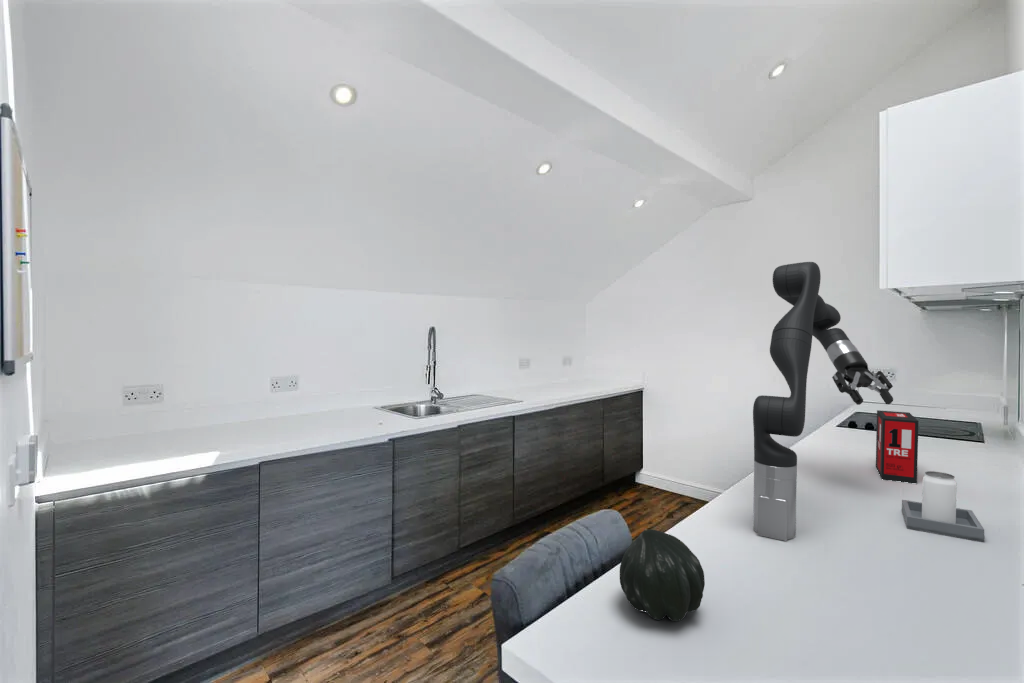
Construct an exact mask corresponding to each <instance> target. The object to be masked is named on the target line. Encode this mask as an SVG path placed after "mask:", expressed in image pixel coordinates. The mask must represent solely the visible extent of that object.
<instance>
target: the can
mask: <svg viewBox="0 0 1024 683" xmlns="http://www.w3.org/2000/svg"><path fill="white" fill-rule="evenodd" d="M924 473H925V474H924V475H923V477H922V490H921V491H922V492H921V496H922V498H921V503H922V518H926V519H932V520H938V521H944V522H950V523H956V508H957V492H958V490H957V488H958V487H957V485H958V484H957V481H956V479H955V475H952V474H950V473H946V472H941V471H934V470H933V471H931V470H929V471H928V470H927V471H924Z"/></svg>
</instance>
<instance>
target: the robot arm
mask: <svg viewBox="0 0 1024 683" xmlns="http://www.w3.org/2000/svg"><path fill="white" fill-rule="evenodd" d="M821 278H822V277H821V269H820V266H819V265H818V264H817V262H814V261H804V262H796V263H788V264H782V265H779V266H777V267H776V268H775V269H774V271H773V273H772V286H773V289H774V291H775V294H777V296H778V297H780V298H781V299H782V300H784V301H785V302H787V303H789V305H792V307H791V309H789V310H788V311H787V313H784V316H783V317H781V318H780V320H778V322H777V323H776V324H775V326H774V328H773V329H772V332H771V339H770V344H769V355H770V357H771V359H772V361H773V363H774V365H775V366H776V368H777V369H778V370H779V372H780V373H781V374H782V376H783V378H784V380H785V381H786V384H787V386H788V387H789V388H788V389H789V390H790V396H789V397H788V396H778V395H776V396H775V395H758V396H757V397H756V398H755V399H754V402H753V407H752V420H753V421H752V424H753V515H752V517H753V518H752V519H753V520H752V521H753V522H752V524H753V526H752V527H753V530H754V531H755V532H756V533H757V536H761V537H765V538H771V539H775V540H779V541H785V542H787V541H788V540H791V539H794V538H795V537H796V536H797V483H798V481H797V476H798V475H797V474H798V456H797V453H796V452H795V451H794V450H793V449H791V448H789V447H787V446H785V445H782V444H780V443H779V442H778V441H776V440H775V439H773V438H772V436H771V435H773V436H786V437H795V438H796V437H799V436H801V435H802V433H803V431H804V427H805V422H806V407H807V406H806V405H807V383H808V382H807V381H808V372H809V364H810V358H811V351H812V343H813V342H812V341H813V337H814V338H815V339H816V340H818V342H819V343H820V344H821V346H822V347H823V349H824V350H825V352H826V355H827V356H828V357H829V358H828V359H830V362H831V363H832V365H833V367H834V368H835V369H836V371H835V373H834V374H833V375H832V377H831V378H832V380H833V382H834V384H835V385H836V387H837V389H838V391H839V393H842V394H843V393H846V394H847V395H849V397H850V398H851V400H852V402H853V403H854V404H856V405H857V406H858V405H859V406H860V405H861V404H862V403H864V398H863V397H862V395H861V394H860V392H859V391H858V389H859V388H868V389H869V390H871V391H874V392H877V393H878V394H879V396H880V397H881V399H882V400H883V402H884V404H885V405H891V404H892V403H893V402H894V397H893V395H892V394H891V393H890V391H891V389H892V388H893V387H894V386H893V384H892V383H891V382H890V381H889V379H888V378H887V376H886V375H885V374H884V373H883V372H882V371H881V370H878V371H877V372H872V371H871V370H869V367H868V366H869V365H868V363H867V361H866V360H865V359H864V357H863V355H862V354H861V353H860V351H859V350H858V348H857V347H856V345H855V344H853V342H852V341H851V340H850V338H849V337H848V335H847V333H846V332H845V331H844V330H843V329H841V328H840V327H835V326H837V325H838V324H839V323H840V322H841V314H840V312H839V310H838V309H837V308H836V307H834V306H833V305H831V304H829V303H826V302H825V300H824V299H823V297H822V296H821V295H819V291H820V286H821ZM847 382H848V383H847ZM872 383H874V384H873V385H872Z"/></svg>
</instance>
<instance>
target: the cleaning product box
mask: <svg viewBox="0 0 1024 683" xmlns="http://www.w3.org/2000/svg"><path fill="white" fill-rule="evenodd" d="M875 434H876V435H875V436H876V439H875V440H876V441H875V442H876V443H875V468H876V470H878V471H877V472H879V473H878V475H879V474H880V475H879V476H880V479H881V480H882V479H883V480H882V481H888V480H892V481H891V482H896V481H901V482H900V483H904V482H908V483H907V484H912V483H917V484H918V453H919V452H918V451H919V449H918V447H919V420H918V419H917V418H916V417H915V416H913V414H912V413H911V412H907V411H906V412H905V411H894V410H891V411H890V410H878V409H877V410H876V433H875Z"/></svg>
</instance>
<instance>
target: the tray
mask: <svg viewBox="0 0 1024 683" xmlns="http://www.w3.org/2000/svg"><path fill="white" fill-rule="evenodd" d="M901 513H902V517H903V520H904V523H905V526H906V529H907V530H913V531H919V532H924V533H929V534H930V533H931V534H936V535H941V536H946V537H951V538H958V539H963V540H968V541H974V542H981V543H985V528H984V527H983V525H982V524H981V522H980V521H979V519H978V517H977V516H976V514H975V513H974V511H973V510H971V509H966V508H960V507H956V523H950V522H944V521H938V520H932V519H926V518H922V501H913V500H906V499H901Z"/></svg>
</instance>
